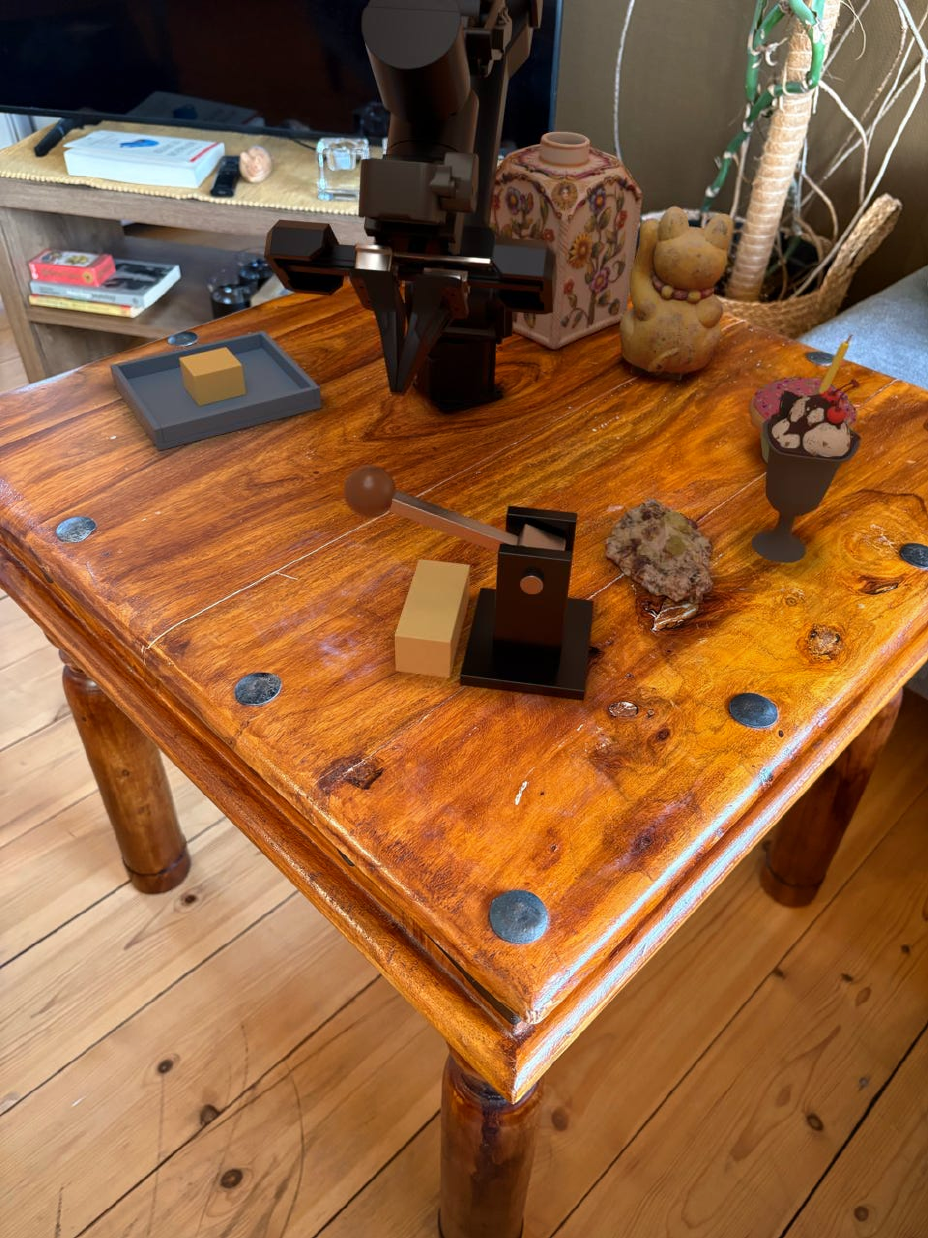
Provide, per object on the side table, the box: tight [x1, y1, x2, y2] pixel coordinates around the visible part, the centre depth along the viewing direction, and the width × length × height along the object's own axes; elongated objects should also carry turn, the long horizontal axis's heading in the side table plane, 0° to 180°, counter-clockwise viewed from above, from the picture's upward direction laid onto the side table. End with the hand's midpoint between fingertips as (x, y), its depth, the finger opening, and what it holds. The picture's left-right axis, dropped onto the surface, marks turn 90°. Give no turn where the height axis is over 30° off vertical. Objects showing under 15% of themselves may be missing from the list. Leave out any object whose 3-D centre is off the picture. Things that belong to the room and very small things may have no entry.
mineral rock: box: [605, 498, 714, 605], centre depth 73 cm, size 11×4×8 cm
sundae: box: [751, 378, 862, 564], centre depth 71 cm, size 7×7×15 cm
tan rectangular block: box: [394, 558, 471, 679], centre depth 66 cm, size 8×4×4 cm, turn 171°
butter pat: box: [179, 347, 246, 406], centre depth 90 cm, size 4×4×3 cm
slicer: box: [459, 505, 595, 702], centre depth 64 cm, size 8×9×10 cm
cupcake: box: [748, 333, 859, 464], centre depth 81 cm, size 9×8×12 cm
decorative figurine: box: [619, 205, 734, 382], centre depth 92 cm, size 10×8×15 cm
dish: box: [109, 330, 323, 452], centre depth 91 cm, size 15×13×2 cm
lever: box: [343, 464, 566, 554], centre depth 61 cm, size 14×3×3 cm, turn 81°
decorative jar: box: [489, 131, 643, 351], centre depth 100 cm, size 12×12×18 cm
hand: (396, 393), depth 65 cm, fingers closed
